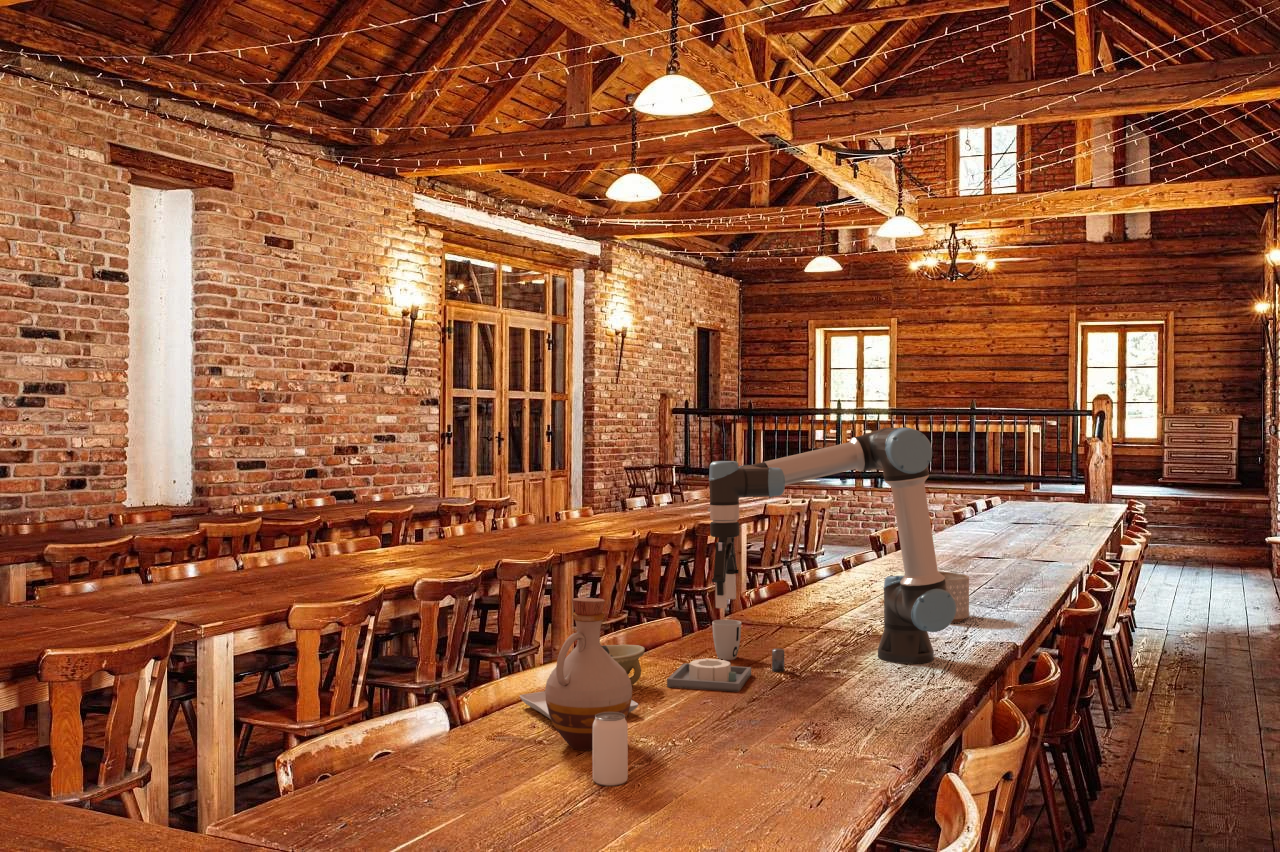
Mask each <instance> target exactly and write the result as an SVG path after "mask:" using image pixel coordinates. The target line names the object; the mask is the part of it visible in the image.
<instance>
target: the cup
mask: <svg viewBox="0 0 1280 852" xmlns="http://www.w3.org/2000/svg"><path fill="white" fill-rule="evenodd" d="M711 624H712V638H713V644H714V650H715V653H716V656H717V659H718V658H719V659H723V660H725V661H732V660H736V659H737V656H738V653H739V649H740V645H741V644H740V642H741V638H742V637H741V636H742V635H741V634H742V621H741V620H736V619H716V620H713V621H712V622H711Z"/></svg>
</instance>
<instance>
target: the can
mask: <svg viewBox="0 0 1280 852" xmlns="http://www.w3.org/2000/svg"><path fill="white" fill-rule="evenodd" d="M628 731H629V730H628V722H627V719H626V720H625V715H624V714H622V713H619V712H602V713H598V714H596V715H595V720H594V722H593V750H592V781H594V783H595V784H596V785H599V786H603V787H616V786H621V785H624V784H625V783H626V782H627V781H628V777H629V776H628V775H629V773H628V772H629V771H628V765H629V764H628V763H629V762H628V761H629V760H628V759H629V757H628V755H629V752H628V751H629V749H628V748H629V747H628V746H629V745H628V743H629V741H628V736H629V735H628Z"/></svg>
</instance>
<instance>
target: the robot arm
mask: <svg viewBox="0 0 1280 852" xmlns="http://www.w3.org/2000/svg"><path fill="white" fill-rule="evenodd" d="M932 456H933V447H932V444H931V442H930V439H928V437H927V436H926V435H925V434H924V433H923V432H921V431H920V430H917V429H914V428H911V427H906V426H905V427H885V428H883V427H882V428H881V429H877V430H875V431H872V432H868V433H865V434H862V435H858V436H854V437H850V439H849V441H847V442H844V443H840V444H836V445H832V446H831V445H830V446H828V447H826V446H825V447H822V448H819V449H814V450H809V451H805V452H802V453H797V454H793V455H788V456H783V457H780V458H775V459H770V460H766V461H762V462H758V463H754V464H750V465H749V464H744V465H740V466H739V462H737V461H736V460H716V461H712V462H711V463H710V464H709V469H708V470H709V474H708V484H709V507H708V508H707V512H710V513H709V516H710V517H709V519H710V520H711V521H710V523H709V531H710V532H709V533H710V536H711V537H713V538H718V541H717V542H715V544H714V546H715V548H714V549H715V552H714V553H715V555H714V566H713V567H714V569H713V578H711V583H714V585H715V587H714V588H715V591H714V592H715V593H714V594H715V595H714V597H715V609H727V607H728V602H727V601H728V600H736V599H737V579H736V574H737V575H738V574H739V569H738V566H737V557H736V555H737V554H736V548H735V538H736V537H738V536H740V522H739V520H740V498H763V497H765V498H766V497H768V498H772V497H780V496H782V495H783V494H784V492H785V488H786V486H787V485H791V484H797V483H800V482H804V481H808V480H814V479H818V478H823V477H827V476H831V475H835V474H840V473H844V472H848V471H852V470H856V471H857V472H865V471H869V470H870V471H871V470H882V475H883V479H884V482H885V483H886V484H887V485H888V486H890V487H891V494H892V499H893V506H894V512H895V513H894V514H895V518H896V527H897V531H898V538H899V546H900V551H901V556H902V564H903V570H904V571H903V572H904V575H889V576H886V577H885V578H884V584H883V619H884V620H883V622H884V623H883V625H884V627H883V628H884V629H883V632H882V635H881V638H880V641H879V644H878V647H877V657H878V659H880V660H883V661H886V662H892V663H899V664H925V663H931V662H933V661H934V659H935V658H934V657H935V656H934V655H935V654H934V652H935V651H934V649H933V648H934V647H933V644H932V642H931V640H930V636H929V633H939V632H940V631H943V630H946V629H947V628H948V627H950V625H951V622H952V621H953V619H954V617H955V614H956V603H955V600H954V598H953V597H952V596H951V594H950V593H948V592H947V588H946V582H945V577H944V576H943V575H942V574H941V573H939V572H940V571H939V570H938V564H937V558H936V552H935V551H936V550H935V544H934V538H933V531H932V525H931V518H930V511H929V506H928V499H927V493H926V486H925V485H926V484H925V483H926V480H927V479H928V478H929V477H930V473H929V464H930V462H931V461H932ZM952 623H953V622H952Z"/></svg>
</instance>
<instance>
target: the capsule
mask: <svg viewBox="0 0 1280 852" xmlns="http://www.w3.org/2000/svg"><path fill="white" fill-rule="evenodd" d="M771 671H772V672H776V673H777V672H779V673H780V672H781V673H782V672H784V671H785V649H784V648H772V649H771Z"/></svg>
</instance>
